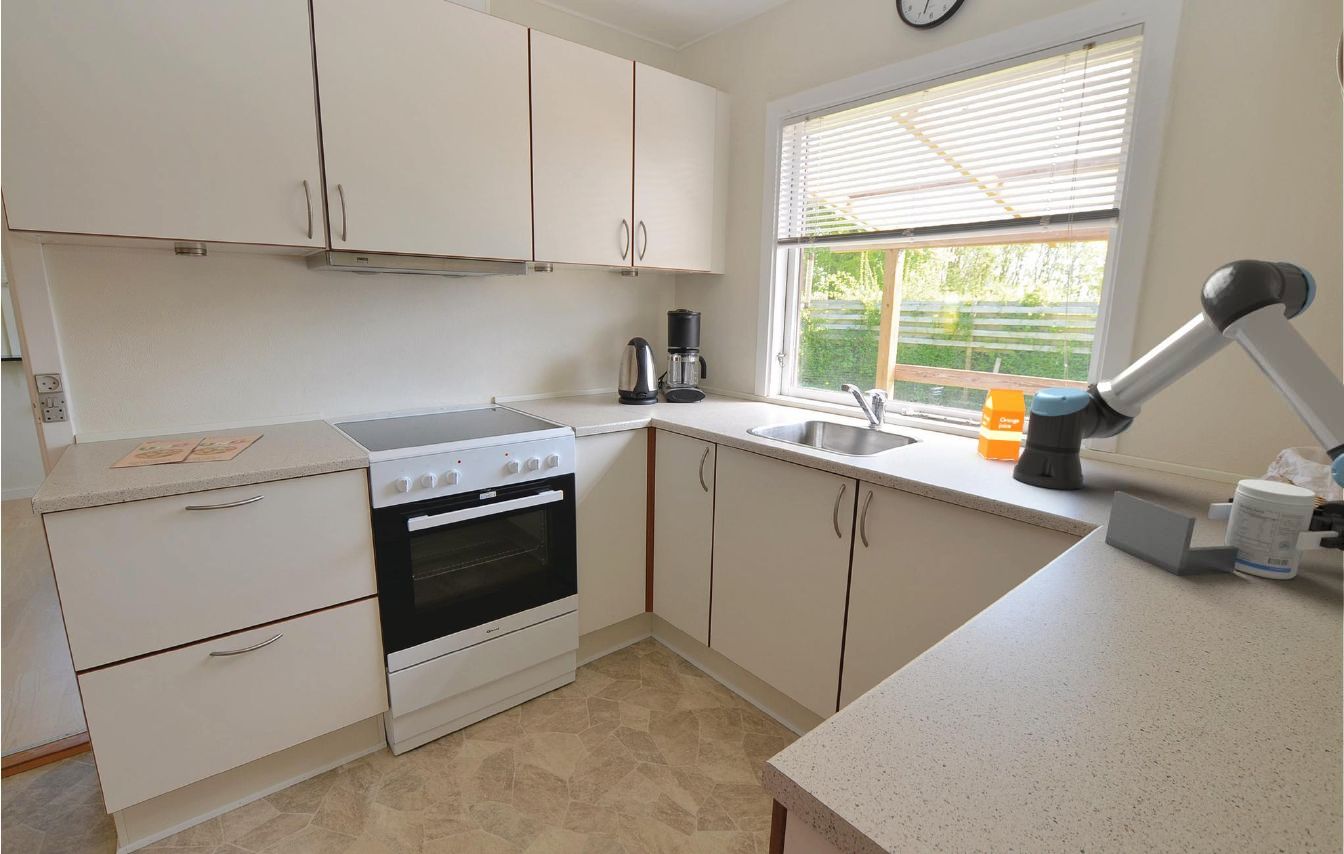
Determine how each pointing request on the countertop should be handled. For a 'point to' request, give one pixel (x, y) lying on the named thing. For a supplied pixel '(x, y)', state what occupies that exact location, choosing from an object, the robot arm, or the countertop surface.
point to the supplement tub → (1268, 527)
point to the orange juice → (1002, 424)
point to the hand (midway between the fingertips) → (1252, 525)
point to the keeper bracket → (1163, 538)
